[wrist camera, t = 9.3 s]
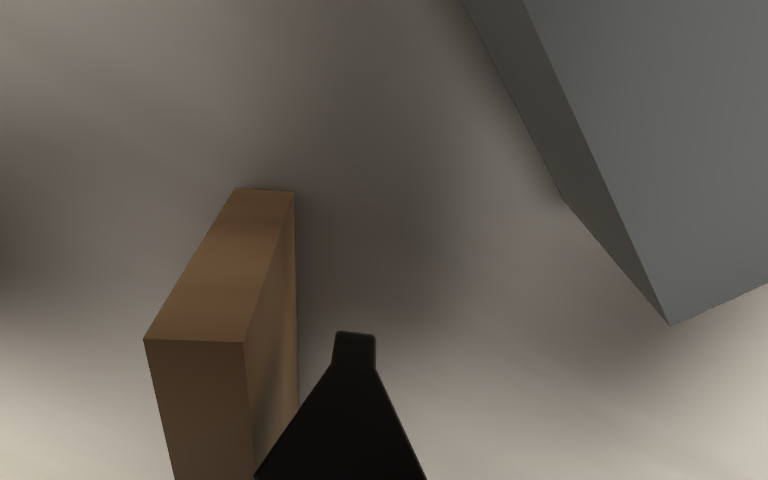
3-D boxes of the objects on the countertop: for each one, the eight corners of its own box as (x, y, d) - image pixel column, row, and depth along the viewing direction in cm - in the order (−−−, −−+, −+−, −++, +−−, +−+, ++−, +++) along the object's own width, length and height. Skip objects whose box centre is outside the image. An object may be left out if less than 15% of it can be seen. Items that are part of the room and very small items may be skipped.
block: (822, 56, 9) (1139, 115, 5) (562, 198, 10) (670, 326, 6) (765, -276, 6) (1245, -572, 3) (440, -39, 8) (501, -46, 4)
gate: (300, 506, 14) (276, 698, 10) (262, 506, 14) (224, 698, 10) (294, 191, 9) (242, 342, 5) (235, 188, 9) (142, 338, 5)
